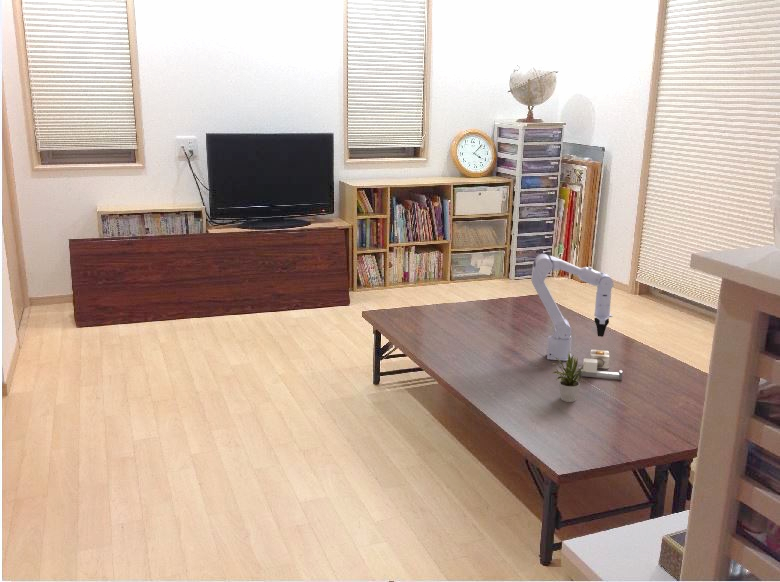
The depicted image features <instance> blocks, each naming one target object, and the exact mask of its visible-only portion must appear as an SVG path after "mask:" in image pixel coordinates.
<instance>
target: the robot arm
mask: <svg viewBox="0 0 780 582" xmlns="http://www.w3.org/2000/svg"><path fill="white" fill-rule="evenodd" d="M559 270H561V271H563V272H567V273H570V274H572V275H574V276H578V279H579V281H582V282H584V283H587V284H589V285H592V286H596V295H595V309H594V314H593V316H594V320H593V321H594V323H595V326H596V331H597V332H596V333H597V337H601V338H603V337H604V335H605V332H606V329H607V326H608V325H609V324H610V318H613V314H611V313H610V312H611V300H612V289H613V287H614V281H613V279H612V277H611V276H610V274H607V273H606V272H603V271H598V270H595V269H593V267H592V266H590V265H589V266H588V267H587V266H584V267H579V266H577V265H575V264H572V263H570V262H568V261H565V260H563V259H561V258H558V257H555V256H553V255H548V254H546V253H539V254H537V256H536V257H535V258H534V261H533V262H532V271H531V276H530V277H531V279H530V281H531V284H532V285H533V288H534V289H535V292H536V293H537V296H538V297H539V298H540V300H541V302H542V305H543V306H544V308H545V310H546V312H547V314H548V316H549V317H550V319H551V322H552V324H553V328H554V331H555V332H554V333H553V335H548V339H547V349H546V354H547V356H546V359H547V360H552V361H553V360H554V361H559V360H560V361H563V362H567V360H568V352H569V354H570V356H571V357H572V353H571V352H572V351H571V347H572V333H573V329H572V327H571V326H570V322H569V321H568V320H567V318H565V317H564V316H563V314H562V312H561V310H560V309H559V306H558V305H557V303H556V301H555V299H554V298H553V295H552V294H551V291H550V289H549V288H548V286H547V284H546V282H545V280H546V278H547V275H548V274H550V273H551V271H552V272H556V271H559ZM552 356H553V357H552ZM555 357H556V358H558V359H559V360H557V359H556V358H555Z"/></svg>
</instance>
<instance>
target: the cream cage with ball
mask: <svg viewBox="0 0 780 582" xmlns="http://www.w3.org/2000/svg"><path fill="white" fill-rule="evenodd" d="M597 351H602V352H603V355H600V354H597ZM589 355H590V357H589V359H597V369H609V367H610V352H609V350H601V349H600V350H599V349H590V354H589Z"/></svg>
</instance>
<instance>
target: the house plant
mask: <svg viewBox="0 0 780 582" xmlns="http://www.w3.org/2000/svg"><path fill="white" fill-rule="evenodd" d="M570 354H571V353H570ZM570 354H569V352H568V360H567V361H565V366H566V368H565V367H564V364H563V362H562V360H559V359H558V358H556V357H555V358H556V359H557V360H556V361H559V363H560V364H561V365H558V364H555V363H551V364H552V365H553V366H555V367H558V368H559V369H560V370H561V371H559V370H558V369H557V368H554V367H553V369H554V370H555V371H553V372H552V374H556V375H559V376H558V377H557V378H556V380H559V381H558V382H559V391H560V393H559V394H560V399H561V401H564V402H566V403H573V402H575V401H577V398H578V393H579V390H580V389H579V388H580V385H581V384H580V381H581V380H582V381H583V382H585V380H584V379H583V378H582V379H581V378H580V377H579V376H578V375H579V374H580V373H582V372H586V371H581V372H579V371H580V370H581V369H582V370H583V366H584V365H585V364H584V365H583V364H582V366H581V368H580V369H579V368H578V369H577V366H578V361H579V360H578V357H576V356H574V355H571V356H570ZM552 357H553V356H552ZM576 369H577V370H576ZM578 372H579V373H578Z"/></svg>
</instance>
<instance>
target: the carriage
mask: <svg viewBox="0 0 780 582" xmlns="http://www.w3.org/2000/svg"><path fill="white" fill-rule="evenodd" d="M584 364H585V365H584ZM583 365H584V366H583ZM582 366H583V367H582V370H583V371H586V372H583V376H582V377H584V376H588V377H587V378H596V374H597V371H598V368H597V359H590V358H585V357H584V358H583V363H582Z"/></svg>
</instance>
